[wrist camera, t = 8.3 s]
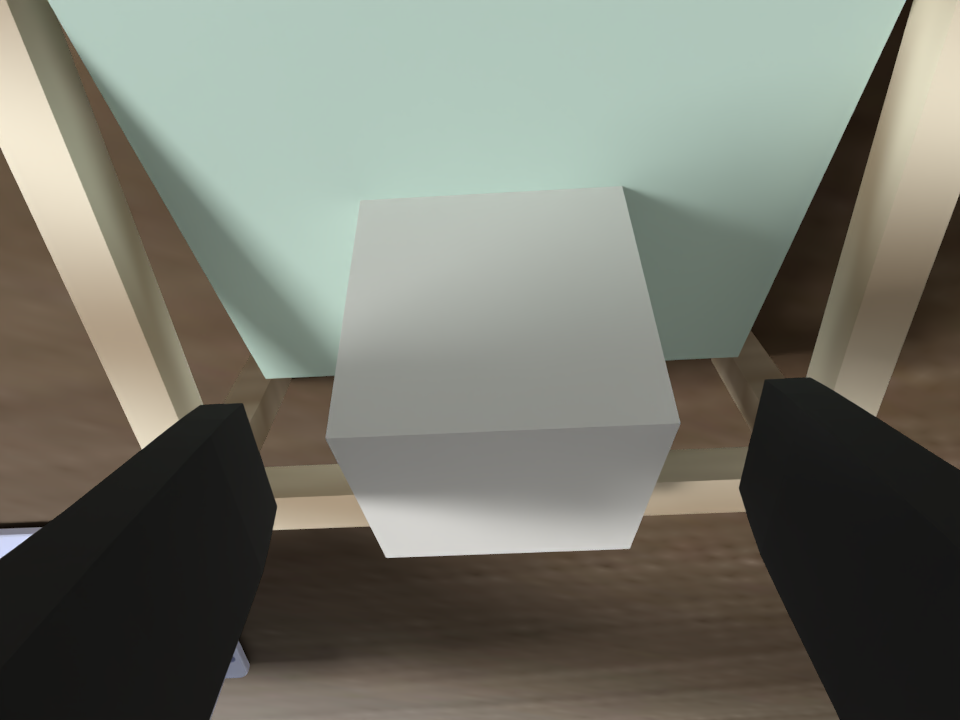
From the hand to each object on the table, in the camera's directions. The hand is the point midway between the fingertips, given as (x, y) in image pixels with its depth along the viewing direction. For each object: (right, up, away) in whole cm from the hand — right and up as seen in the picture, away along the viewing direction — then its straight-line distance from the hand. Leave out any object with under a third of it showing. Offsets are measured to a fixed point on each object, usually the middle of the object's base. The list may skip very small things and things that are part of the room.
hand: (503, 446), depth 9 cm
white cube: (0, +3, +4) cm, 5 cm away
